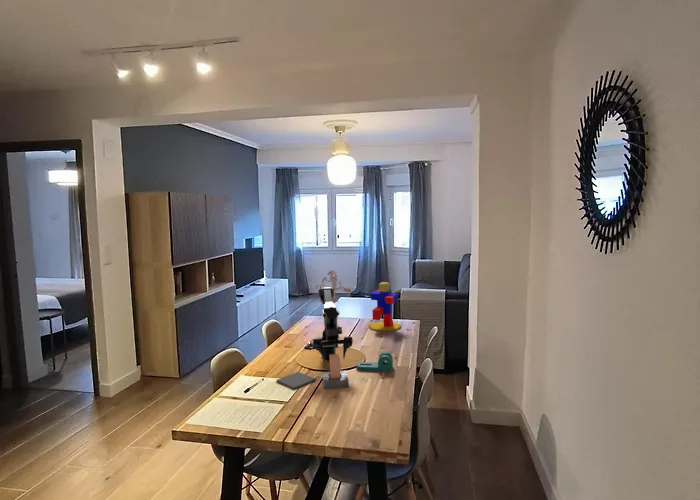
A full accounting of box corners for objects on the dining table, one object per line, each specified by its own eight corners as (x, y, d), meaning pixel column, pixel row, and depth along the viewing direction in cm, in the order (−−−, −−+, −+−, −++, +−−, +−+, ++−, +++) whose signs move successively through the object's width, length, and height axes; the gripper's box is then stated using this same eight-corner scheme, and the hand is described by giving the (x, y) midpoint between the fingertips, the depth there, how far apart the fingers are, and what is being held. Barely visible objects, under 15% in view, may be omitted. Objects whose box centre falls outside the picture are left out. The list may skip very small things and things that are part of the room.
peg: (330, 381, 202) (329, 354, 200) (339, 381, 202) (338, 353, 201) (331, 385, 197) (330, 357, 196) (340, 384, 198) (339, 357, 197)
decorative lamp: (352, 337, 267) (351, 273, 263) (314, 338, 268) (312, 274, 264) (352, 325, 295) (351, 266, 291) (318, 325, 295) (316, 267, 291)
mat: (298, 373, 212) (297, 371, 212) (315, 380, 203) (315, 378, 203) (276, 381, 203) (276, 379, 203) (294, 389, 194) (293, 387, 194)
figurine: (405, 324, 294) (404, 280, 291) (395, 333, 274) (394, 286, 271) (375, 321, 303) (374, 279, 299) (363, 330, 283) (362, 284, 280)
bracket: (392, 367, 218) (392, 352, 218) (392, 372, 212) (391, 356, 211) (357, 366, 221) (356, 351, 220) (355, 371, 214) (355, 355, 214)
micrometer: (314, 350, 246) (314, 346, 246) (303, 349, 248) (303, 345, 248) (323, 342, 261) (323, 338, 260) (312, 341, 263) (312, 337, 263)
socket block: (322, 379, 205) (322, 372, 204) (345, 377, 206) (345, 370, 206) (324, 389, 194) (324, 381, 193) (348, 387, 195) (348, 379, 195)
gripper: (312, 322, 205) (314, 352, 195) (351, 319, 207) (355, 349, 197) (312, 333, 213) (313, 363, 203) (349, 331, 215) (353, 360, 206)
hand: (334, 359), depth 202 cm, fingers open, 9 cm apart
